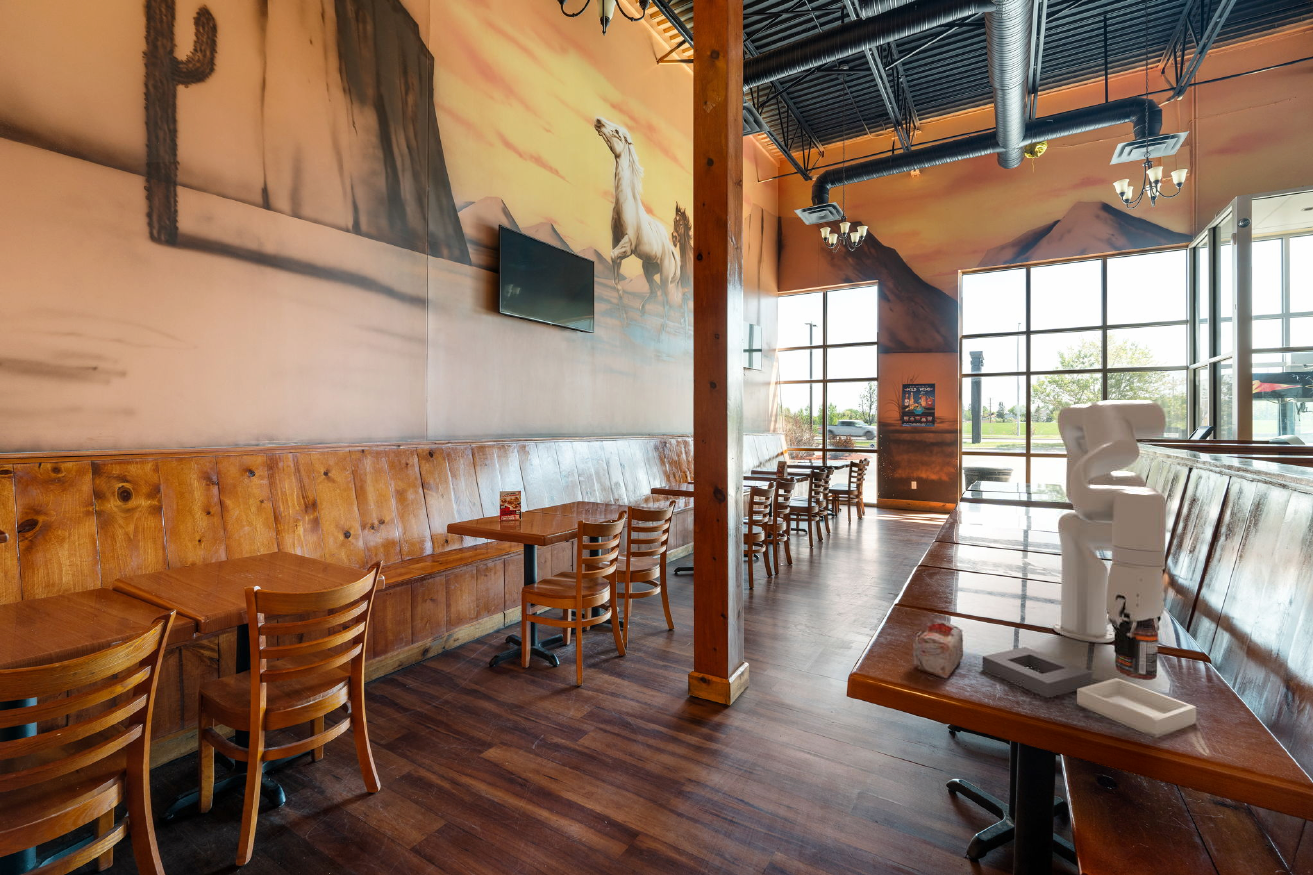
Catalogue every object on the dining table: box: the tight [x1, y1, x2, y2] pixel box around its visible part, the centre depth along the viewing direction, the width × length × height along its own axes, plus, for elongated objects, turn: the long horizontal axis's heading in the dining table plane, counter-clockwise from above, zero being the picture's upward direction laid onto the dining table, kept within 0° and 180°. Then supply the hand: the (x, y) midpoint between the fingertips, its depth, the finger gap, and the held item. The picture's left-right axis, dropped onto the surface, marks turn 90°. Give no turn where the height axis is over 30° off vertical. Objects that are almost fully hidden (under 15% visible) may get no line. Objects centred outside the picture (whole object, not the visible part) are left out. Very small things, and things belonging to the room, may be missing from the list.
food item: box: [912, 620, 964, 679], centre depth 125 cm, size 14×8×10 cm, turn 139°
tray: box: [1076, 677, 1197, 739], centre depth 105 cm, size 13×13×3 cm
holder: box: [982, 646, 1093, 699], centre depth 120 cm, size 14×14×3 cm
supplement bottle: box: [1114, 614, 1159, 681], centre depth 105 cm, size 6×6×11 cm
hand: (1135, 652), depth 105 cm, fingers closed on supplement bottle, 6 cm apart
